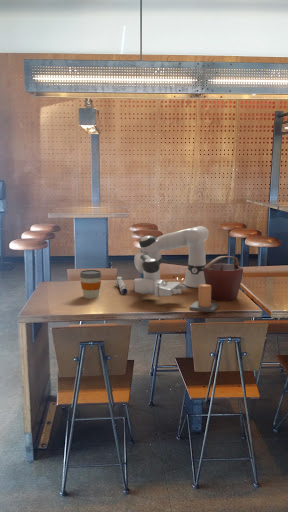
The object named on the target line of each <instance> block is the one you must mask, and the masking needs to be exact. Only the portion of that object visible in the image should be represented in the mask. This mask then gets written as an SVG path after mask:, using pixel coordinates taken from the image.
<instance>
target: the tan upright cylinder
mask: <svg viewBox="0 0 288 512" xmlns="http://www.w3.org/2000/svg"><path fill="white" fill-rule="evenodd" d="M197 295H198V296H197V301H198V305H199V306H201V307H209V306H210V305H211V303H212V299H211V285H208V284H201V285H199V287H198V293H197Z"/></svg>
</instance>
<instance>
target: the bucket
mask: <svg viewBox="0 0 288 512" xmlns="http://www.w3.org/2000/svg"><path fill="white" fill-rule="evenodd" d="M225 258H232V264H230V263H216V262H218V261H220V260H222V259H225ZM243 276H244V268H243V267H241V266H240V262H239V261H238V257H236V256H230V255H220V256H217V257H216V258H214V259H212V260H211V261H209V262H208V263H207V264H206V266H205V267H204V277H205V283H206V284H208V285H211V301H212V300H213V301H216V302H231V301H235V300H237V299H238V296H239V291H240V287H241V284H242V279H243Z"/></svg>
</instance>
